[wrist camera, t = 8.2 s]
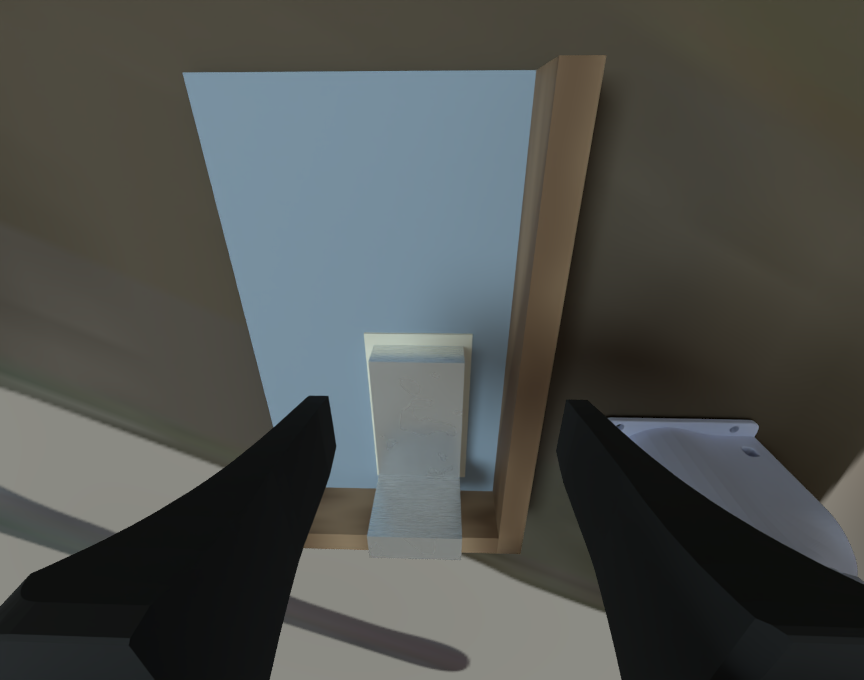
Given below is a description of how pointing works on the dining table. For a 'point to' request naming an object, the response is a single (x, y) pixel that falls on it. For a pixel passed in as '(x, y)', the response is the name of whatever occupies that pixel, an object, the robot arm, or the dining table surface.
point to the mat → (371, 233)
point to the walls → (515, 318)
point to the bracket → (417, 451)
